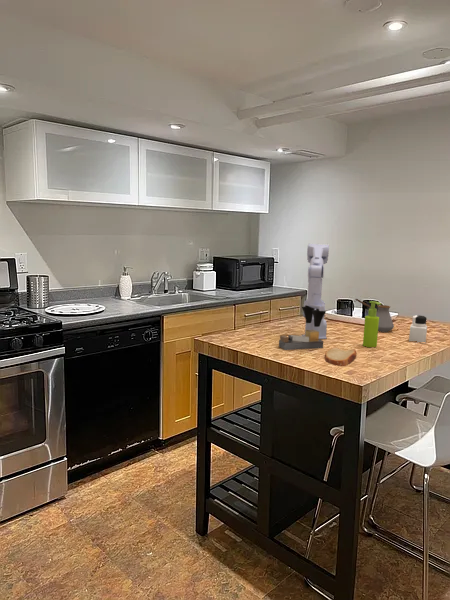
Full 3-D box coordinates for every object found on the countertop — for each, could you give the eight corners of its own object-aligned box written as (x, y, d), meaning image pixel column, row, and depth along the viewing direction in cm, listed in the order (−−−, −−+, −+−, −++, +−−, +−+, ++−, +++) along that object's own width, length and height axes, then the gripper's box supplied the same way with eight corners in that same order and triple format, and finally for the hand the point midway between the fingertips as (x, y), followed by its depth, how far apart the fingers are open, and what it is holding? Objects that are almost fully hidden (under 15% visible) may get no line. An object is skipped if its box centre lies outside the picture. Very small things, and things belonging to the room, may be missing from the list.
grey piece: (316, 344, 207) (317, 333, 206) (323, 348, 202) (323, 336, 201) (278, 346, 202) (279, 335, 201) (284, 349, 196) (285, 338, 195)
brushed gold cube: (313, 338, 205) (314, 329, 205) (318, 341, 201) (319, 331, 201) (305, 338, 204) (305, 329, 204) (310, 341, 200) (310, 332, 199)
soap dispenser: (371, 348, 203) (375, 303, 200) (359, 345, 209) (363, 300, 206) (381, 347, 206) (385, 302, 203) (369, 343, 212) (373, 300, 209)
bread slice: (337, 367, 174) (338, 358, 174) (310, 355, 191) (310, 346, 190) (375, 363, 181) (376, 354, 181) (346, 352, 198) (347, 343, 197)
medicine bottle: (425, 340, 223) (428, 315, 221) (425, 343, 216) (427, 317, 214) (409, 338, 226) (412, 313, 224) (408, 341, 219) (411, 316, 217)
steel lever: (308, 341, 199) (309, 336, 199) (308, 342, 197) (308, 337, 196) (288, 339, 201) (288, 334, 201) (287, 340, 199) (288, 335, 199)
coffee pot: (396, 330, 243) (399, 302, 241) (389, 334, 234) (391, 304, 231) (356, 324, 255) (358, 297, 253) (348, 327, 246) (350, 299, 244)
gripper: (298, 291, 205) (296, 321, 207) (314, 295, 192) (312, 328, 194) (312, 291, 207) (311, 321, 209) (329, 295, 194) (327, 328, 196)
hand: (312, 324), depth 202 cm, fingers open, 7 cm apart
